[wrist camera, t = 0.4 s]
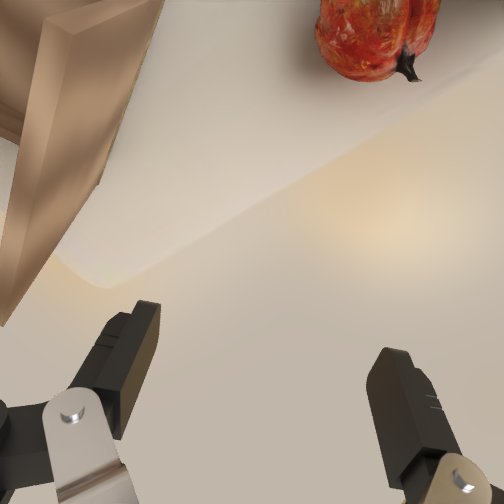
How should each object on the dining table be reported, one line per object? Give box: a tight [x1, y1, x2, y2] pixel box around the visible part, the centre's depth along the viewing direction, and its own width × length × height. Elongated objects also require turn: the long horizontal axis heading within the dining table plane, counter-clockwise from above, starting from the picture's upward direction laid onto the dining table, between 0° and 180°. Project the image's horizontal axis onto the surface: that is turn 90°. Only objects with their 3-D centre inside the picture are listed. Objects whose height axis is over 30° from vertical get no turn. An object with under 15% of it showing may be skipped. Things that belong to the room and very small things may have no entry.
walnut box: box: [0, 0, 102, 146], centre depth 25 cm, size 15×15×4 cm
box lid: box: [0, 0, 165, 327], centre depth 20 cm, size 15×16×1 cm
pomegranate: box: [314, 0, 441, 82], centre depth 23 cm, size 7×7×10 cm
